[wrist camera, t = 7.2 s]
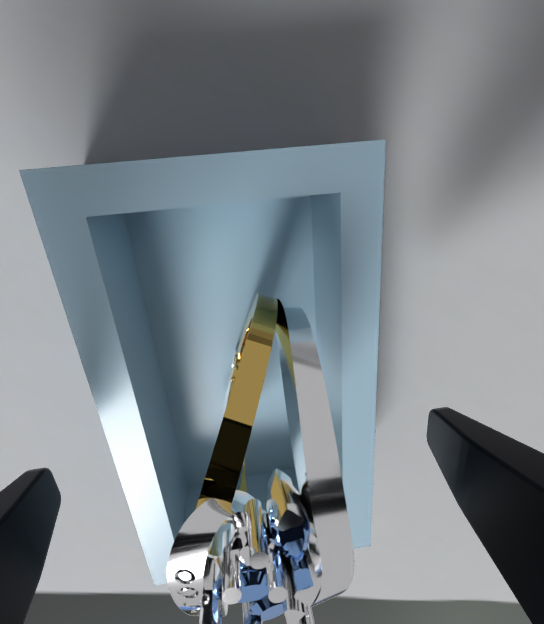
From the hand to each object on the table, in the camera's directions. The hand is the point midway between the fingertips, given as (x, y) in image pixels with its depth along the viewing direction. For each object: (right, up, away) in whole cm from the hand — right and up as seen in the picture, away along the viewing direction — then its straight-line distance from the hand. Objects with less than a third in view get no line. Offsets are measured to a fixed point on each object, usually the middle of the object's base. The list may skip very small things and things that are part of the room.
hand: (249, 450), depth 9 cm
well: (-1, +2, +5) cm, 5 cm away
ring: (0, +2, +4) cm, 5 cm away
